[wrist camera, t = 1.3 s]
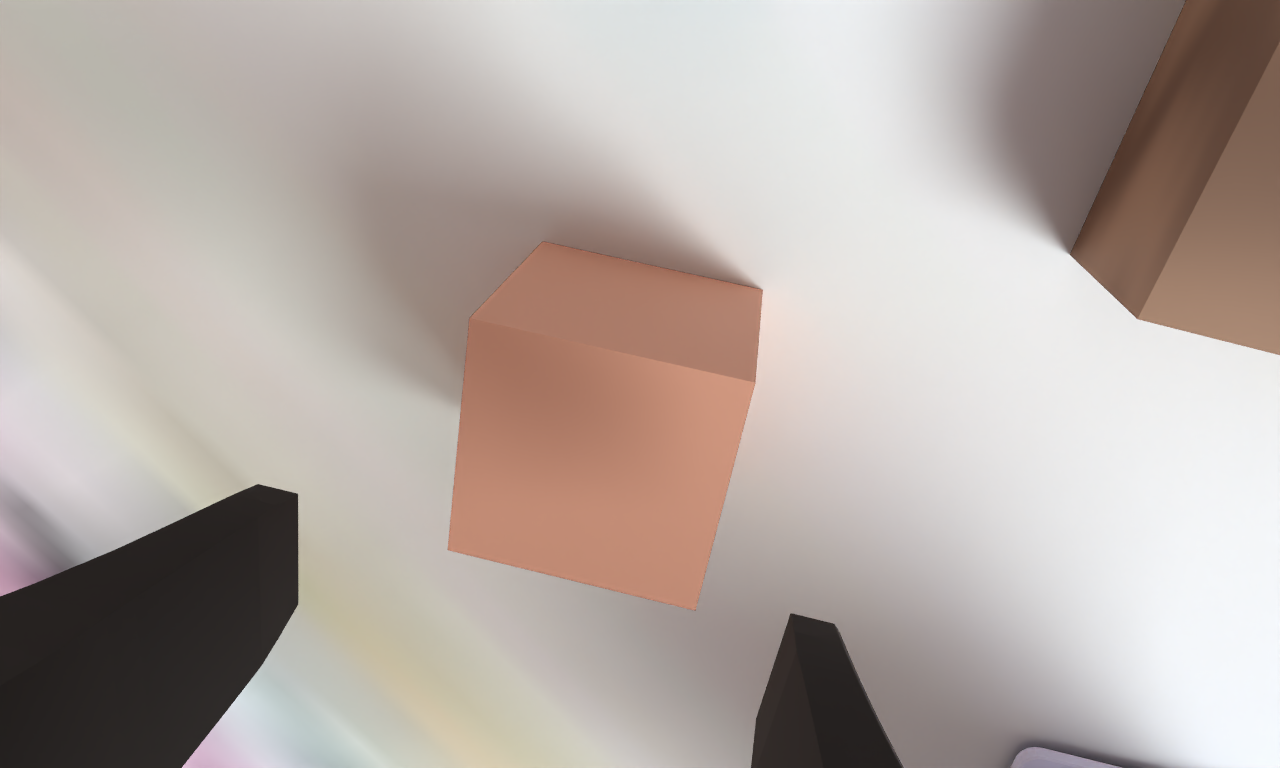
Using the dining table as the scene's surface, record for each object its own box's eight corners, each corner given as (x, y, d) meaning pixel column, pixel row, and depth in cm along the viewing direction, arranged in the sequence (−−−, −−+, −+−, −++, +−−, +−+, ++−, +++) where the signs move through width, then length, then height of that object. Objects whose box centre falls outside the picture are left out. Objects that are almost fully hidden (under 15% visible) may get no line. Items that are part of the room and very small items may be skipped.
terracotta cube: (714, 477, 21) (695, 610, 17) (518, 432, 21) (447, 550, 17) (762, 288, 19) (755, 382, 14) (543, 240, 19) (469, 317, 15)
